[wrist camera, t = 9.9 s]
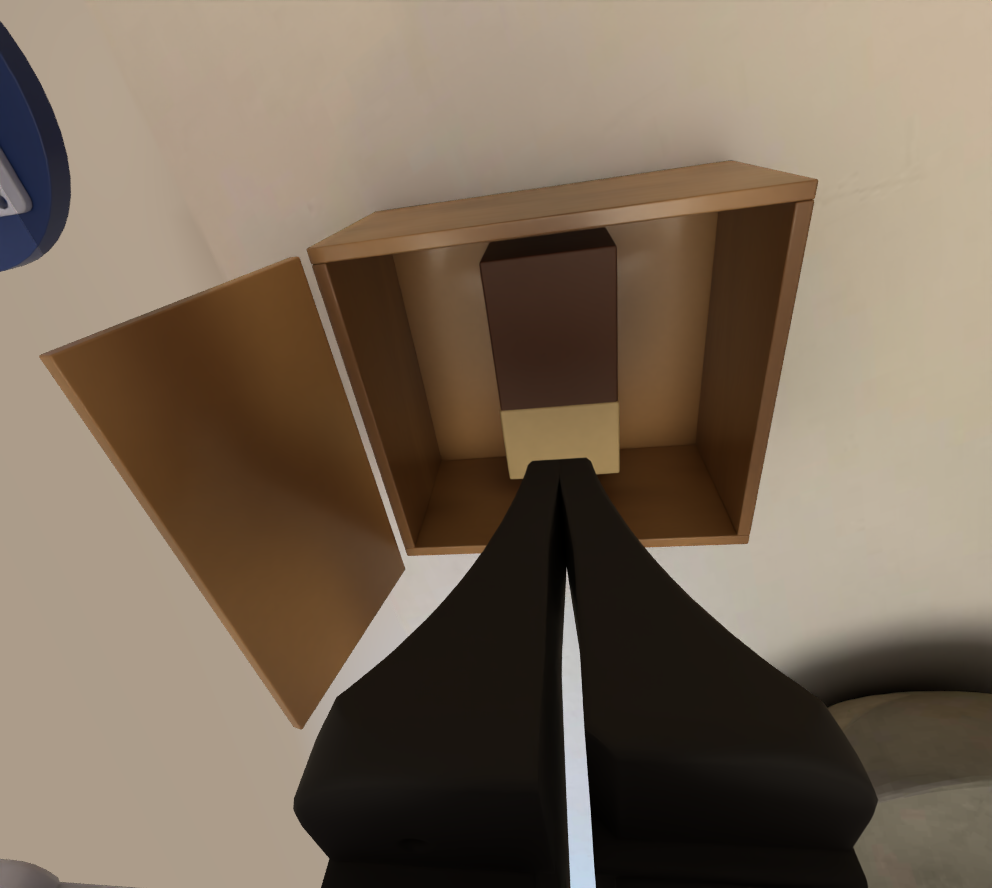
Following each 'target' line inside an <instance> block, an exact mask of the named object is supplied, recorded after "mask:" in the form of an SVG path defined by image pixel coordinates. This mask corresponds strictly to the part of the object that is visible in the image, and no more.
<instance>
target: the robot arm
mask: <svg viewBox="0 0 992 888" xmlns="http://www.w3.org/2000/svg"><path fill="white" fill-rule="evenodd" d="M3 197H4V199H5V200H6V201H7V203H8V205H7V204H6V203H5V202H4V199H3ZM31 209H32V201H31V199H30V197H29V195H28V193H27V192H26V190H25V188H24V187H23V185H22V183H21V181H20V180H19V178H18V176H17V175H16V173H15V171H14V170H13V168H12V166H11V164H10V163H9V161H8V159H7V158H6V156H5V154H4V153H3V151H2V149H1V147H0V217H2V216H8V215H14V214H20V213H26V212H29V211H31ZM566 568H567V572H568V578H569V585H570V591H571V598H572V604H573V611H574V617H575V624H576V630H577V636H578V643H579V649H580V660H581V677H582V694H583V711H584V728H585V741H586V755H587V768H588V781H589V794H590V807H591V822H592V838H593V853H594V869H595V880H596V888H868V883H867V879H866V876H865V874H864V872H863V869H862V867H861V865H860V862H859V860H858V857H857V855H856V853H855V850H854V848H853V847H854V845H855V844H856V842H857V841H858V839H859V837H860V836H861V834H862V833H863V831H864V830H865V828H866V827H867V825H868V824H869V822H870V821H871V819H872V817H873V815H874V812H875V809H876V806H877V803H878V798H877V795H876V793H875V790H874V788H873V785H872V783H871V781H870V779H869V776H868V774H867V772H866V770H865V768H864V766H863V764H862V762H861V761H860V759H859V757H858V755H857V753H856V752H855V750H854V748H853V747H852V745H851V744H850V742H849V740H848V739H847V737H846V736H845V734H844V732H843V731H842V729H841V728H840V726H839V725H838V723H837V722H836V720H835V719H834V717H833V716H832V714H831V713H830V711H829V710H828V708H827V707H826V705H825V704H824V702H823V701H822V700H820V699H819V698H817V697H816V696H814V695H813V694H812V693H810V692H809V691H807V690H806V689H805V688H803V687H802V686H800V685H799V684H797V683H796V682H795V681H793V680H792V679H790V678H789V677H787V676H786V675H785V674H783V673H782V672H780V671H779V670H778V669H776V668H775V667H773V666H772V665H771V664H769V663H768V662H767V661H765V660H764V659H763V658H761V657H760V656H759V655H758V654H756V653H755V652H754V651H753V650H751V649H750V648H749V647H748V646H746V645H745V644H744V643H743V642H741V641H740V640H739V639H738V638H736V637H735V636H734V635H733V634H731V633H730V632H729V631H728V630H727V629H726V628H725V627H723V626H722V625H721V624H720V623H719V622H718V621H717V620H716V619H714V618H713V617H712V616H711V615H710V614H709V613H708V612H707V611H705V610H704V609H703V608H702V607H701V606H700V605H699V604H698V603H696V602H695V601H694V600H693V599H692V598H691V597H690V596H689V595H688V594H687V593H686V592H685V591H684V590H683V589H682V588H681V587H680V586H679V585H678V584H677V583H676V582H675V581H674V580H673V579H672V578H671V577H670V576H669V575H668V574H667V572H666V571H665V570H664V569H663V568H662V567H661V566H660V565H659V564H658V563H657V562H656V560H655V559H654V558H653V557H652V556H651V555H650V553H649V552H648V551H647V550H646V549H645V547H644V546H643V545H642V544H641V542H640V541H639V540H638V538H637V537H636V536H635V535H634V533H633V532H632V531H631V529H630V528H629V527H628V525H627V524H626V522H625V521H624V520H623V518H622V517H621V515H620V514H619V512H618V511H617V509H616V508H615V506H614V505H613V503H612V502H611V500H610V498H609V497H608V495H607V493H606V492H605V490H604V488H603V486H602V484H601V483H600V481H599V479H598V477H597V475H596V473H595V470H594V468H593V465H592V462H591V461H590V460H589V459H588V458H586V457H585V458H569V459H553V460H537V461H532V462H530V463H529V464H528V466H527V469H526V472H525V475H524V478H523V480H522V482H521V485H520V487H519V489H518V491H517V493H516V495H515V498H514V500H513V501H512V503H511V505H510V507H509V509H508V511H507V513H506V514H505V516H504V518H503V520H502V522H501V523H500V525H499V527H498V528H497V530H496V531H495V533H494V535H493V536H492V538H491V539H490V541H489V542H488V544H487V546H486V547H485V549H484V550H483V552H482V553H481V555H480V556H479V557H478V559H477V560H476V562H475V563H474V564H473V566H472V567H471V568H470V570H469V571H468V572H467V573H466V575H465V576H464V577H463V579H462V580H461V581H460V582H459V584H458V585H457V586H456V587H455V588H454V589H453V590H452V592H451V593H450V594H449V595H448V596H447V597H446V599H445V600H444V601H443V602H442V603H441V604H440V605H439V606H438V608H437V609H436V610H435V611H434V612H433V613H432V614H431V615H430V616H429V617H428V618H427V619H426V620H425V621H424V622H423V623H422V624H421V625H420V626H419V627H418V628H417V629H416V630H415V631H414V632H413V633H412V634H411V635H410V636H408V637H407V638H406V639H405V640H404V641H403V642H402V643H401V644H400V645H399V646H398V647H397V648H396V649H395V650H394V651H393V652H392V653H391V654H389V655H388V656H387V657H386V658H385V659H384V660H382V661H381V662H380V663H379V664H378V665H376V666H375V667H374V668H373V669H372V670H370V671H369V672H368V673H367V674H365V675H364V676H363V677H362V678H360V679H359V680H358V681H357V682H356V683H354V684H353V685H352V686H351V687H350V688H348V689H347V690H346V691H344V692H343V693H342V694H340V695H339V696H338V697H337V698H336V699H335V702H334V704H333V706H332V708H331V710H330V712H329V714H328V716H327V718H326V720H325V722H324V724H323V726H322V728H321V730H320V732H319V734H318V736H317V739H316V741H315V744H314V747H313V749H312V752H311V754H310V757H309V760H308V762H307V765H306V768H305V770H304V773H303V776H302V778H301V781H300V784H299V787H298V790H297V792H296V795H295V797H294V808H293V809H294V812H295V814H296V816H297V818H298V820H299V822H300V823H301V825H302V827H303V828H304V829H305V830H306V831H307V833H308V834H309V835H310V836H311V837H312V839H313V840H314V841H315V842H316V843H317V844H318V846H319V847H320V848H321V849H322V850H323V852H324V853H325V854H326V855H327V856H328V857H329V862H328V866H327V869H326V873H325V876H324V879H323V883H322V886H321V888H570V868H569V846H568V824H567V800H566V777H565V752H564V727H563V700H562V644H563V625H564V607H565V588H566ZM0 888H133V887H120V886H107V885H93V884H80V883H66V882H59V879H58V877H56V876H55V875H54V874H52V873H51V872H49V871H47V870H46V869H43V868H41V867H39V866H37V865H34V864H31V863H27V862H23V861H17V860H7V859H0Z"/></svg>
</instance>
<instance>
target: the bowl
mask: <svg viewBox="0 0 992 888" xmlns="http://www.w3.org/2000/svg"><path fill="white" fill-rule="evenodd" d="M828 710H829V711H830V713H831V714H832V716H833V717H834V719H835V720H836V722H837V723H838V725H839V726H840V728H841V729H842V731H843V732H844V734H845V736H846V737H847V739H848V740H849V742H850V744H851V745H852V747H853V748H854V750H855V752H856V753H857V755H858V757H859V759H860V761H861V762H862V764H863V766H864V768H865V770H866V772H867V774H868V776H869V779H870V781H871V783H872V785H873V788H874V790H875V793H876V795H877V798H878V803H877V806H876V809H875V812H874V815H873V817H872V819H871V821H870V822H869V824H868V825H867V827H866V828H865V830H864V831H863V833H862V834H861V836H860V837H859V839H858V841H857V842H856V844H855V845H854V847H853V848H854V850H855V853H856V855H857V857H858V860H859V862H860V865H861V867H862V869H863V872H864V874H865V876H866V879H867V883H868V888H992V694H990V693H979V692H963V691H916V692H897V693H889V694H882V695H873V696H866V697H862V698H857V699H852V700H847V701H843V702H840V703H837V704H835V705H832V706H830V707H828Z"/></svg>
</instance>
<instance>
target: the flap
mask: <svg viewBox="0 0 992 888" xmlns="http://www.w3.org/2000/svg"><path fill="white" fill-rule="evenodd" d="M39 357H40V359H41V360H42V362H43V363H44V365H45V366H46V367H47V369H48V370H49V372H50V373H51V375H52V376H53V378H54V379H55V380H56V382H57V383H58V385H59V386H60V388H61V389H62V391H63V392H64V393H65V395H66V397H67V398H68V399H69V401H70V402H71V404H72V405H73V407H74V408H75V410H76V411H77V413H78V414H79V415H80V417H81V418H82V420H83V421H84V423H85V424H86V426H87V427H88V429H89V430H90V431H91V433H92V434H93V436H94V437H95V439H96V440H97V442H98V443H99V444H100V446H101V447H102V449H103V450H104V452H105V453H106V455H107V456H108V458H109V459H110V461H111V462H112V463H113V465H114V466H115V468H116V469H117V471H118V472H119V474H120V475H121V477H122V478H123V479H124V481H125V482H126V484H127V485H128V487H129V488H130V489H131V491H132V492H133V494H134V495H135V497H136V498H137V500H138V501H139V503H140V504H141V506H142V507H143V508H144V510H145V511H146V513H147V514H148V516H149V517H150V519H151V520H152V522H153V523H154V525H155V526H156V527H157V529H158V530H159V532H160V533H161V535H162V536H163V537H164V539H165V540H166V542H167V543H168V545H169V546H170V548H171V549H172V551H173V552H174V553H175V555H176V556H177V558H178V559H179V561H180V562H181V564H182V565H183V567H184V568H185V570H186V571H187V572H188V574H189V575H190V577H191V578H192V580H193V581H194V583H195V584H196V585H197V587H198V588H199V590H200V591H201V593H202V594H203V596H204V597H205V599H206V600H207V601H208V603H209V604H210V606H211V607H212V609H213V610H214V612H215V613H216V614H217V616H218V618H219V619H220V620H221V622H222V623H223V625H224V626H225V628H226V629H227V631H228V632H229V633H230V635H231V636H232V638H233V639H234V641H235V642H236V644H237V645H238V647H239V648H240V650H241V651H242V652H243V654H244V655H245V657H246V658H247V660H248V661H249V663H250V664H251V666H252V667H253V668H254V670H255V671H256V673H257V674H258V676H259V677H260V679H261V680H262V682H263V683H264V684H265V686H266V687H267V689H268V690H269V691H270V693H271V695H272V696H273V698H274V699H275V700H276V702H277V703H278V705H279V706H280V707H281V709H282V711H283V712H284V713H285V715H286V716H287V718H288V719H289V721H290V722H291V724H292V725H293V727H296V728H298V729H303V727H304V726H305V724H306V722H307V721H308V719H309V718H310V716H311V714H312V713H313V711H314V710H315V709H316V707H317V705H318V704H319V702H320V701H321V699H322V698H323V696H324V695H325V693H326V691H327V690H328V688H329V687H330V685H331V684H332V682H333V680H334V679H335V677H336V676H337V674H338V673H339V671H340V670H341V668H342V666H343V665H344V663H345V662H346V660H347V659H348V657H349V656H350V654H351V653H352V651H353V649H354V648H355V646H356V645H357V643H358V642H359V640H360V639H361V637H362V635H363V634H364V632H365V631H366V629H367V627H368V626H369V624H370V623H371V621H372V620H373V618H374V617H375V615H376V614H377V612H378V611H379V609H380V608H381V606H382V604H383V603H384V601H385V600H386V598H387V597H388V595H389V594H390V592H391V591H392V589H393V587H394V586H395V584H396V583H397V581H398V580H399V578H400V577H401V575H402V573H403V572H404V570H405V567H404V564H403V561H402V558H401V555H400V552H399V549H398V546H397V543H396V540H395V537H394V534H393V531H392V528H391V525H390V523H389V520H388V517H387V514H386V511H385V508H384V505H383V502H382V499H381V496H380V493H379V490H378V487H377V484H376V481H375V478H374V475H373V473H372V470H371V467H370V464H369V461H368V458H367V455H366V452H365V449H364V446H363V443H362V440H361V437H360V434H359V431H358V428H357V426H356V423H355V420H354V417H353V414H352V411H351V408H350V405H349V402H348V399H347V396H346V393H345V390H344V387H343V384H342V381H341V378H340V376H339V373H338V370H337V367H336V364H335V361H334V358H333V355H332V352H331V349H330V346H329V343H328V340H327V337H326V334H325V331H324V328H323V326H322V323H321V320H320V317H319V314H318V311H317V308H316V305H315V302H314V299H313V296H312V293H311V290H310V287H309V284H308V281H307V278H306V276H305V273H304V270H303V267H302V264H301V261H300V258H299V257H290V258H287V259H284V260H282V261H279V262H277V263H274V264H272V265H269V266H266V267H264V268H261V269H259V270H256V271H254V272H251V273H249V274H246V275H243V276H241V277H238V278H236V279H233V280H231V281H228V282H225V283H223V284H221V285H218V286H215V287H213V288H210V289H208V290H205V291H203V292H200V293H197V294H195V295H192V296H190V297H187V298H184V299H182V300H179V301H177V302H174V303H172V304H169V305H167V306H164V307H162V308H159V309H156V310H154V311H151V312H149V313H146V314H144V315H141V316H139V317H136V318H133V319H131V320H128V321H126V322H123V323H121V324H118V325H115V326H113V327H110V328H108V329H105V330H103V331H100V332H97V333H95V334H92V335H90V336H87V337H85V338H82V339H80V340H77V341H74V342H72V343H69V344H67V345H64V346H62V347H59V348H56V349H54V350H51V351H49V352H46V353H44V354H41V355H40V356H39Z"/></svg>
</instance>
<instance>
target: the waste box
mask: <svg viewBox="0 0 992 888" xmlns="http://www.w3.org/2000/svg"><path fill="white" fill-rule="evenodd" d="M817 184H818V180H817V179H814V178H809V177H805V176H800V175H795V174H791V173H786V172H782V171H777V170H773V169H768V168H764V167H759V166H755V165H750V164H745V163H741V162H736V161H732V160H730V161H723V162H716V163H709V164H702V165H695V166H689V167H682V168H675V169H668V170H661V171H654V172H647V173H640V174H633V175H626V176H619V177H612V178H605V179H598V180H591V181H585V182H578V183H571V184H564V185H557V186H550V187H543V188H536V189H529V190H522V191H515V192H508V193H501V194H494V195H487V196H481V197H474V198H467V199H460V200H453V201H446V202H439V203H432V204H425V205H418V206H411V207H404V208H397V209H390V210H383V211H377V212H374V213H372V214H370V215H368V216H366V217H365V218H363V219H361V220H359V221H357V222H355V223H353V224H352V225H350V226H348V227H346V228H344V229H342V230H340V231H339V232H337V233H335V234H333V235H331V236H329V237H327V238H326V239H324V240H322V241H320V242H318V243H316V244H314V245H313V246H311V247H309V248H307V252H308V255H309V258H310V262H311V264H313V265H312V268H313V271H314V274H315V277H316V280H317V283H318V286H319V289H320V292H321V295H322V298H323V301H324V304H325V307H326V310H327V313H328V316H329V319H330V322H331V325H332V328H333V331H334V334H335V337H336V340H337V343H338V346H339V349H340V353H341V356H342V359H343V362H344V365H345V368H346V371H347V374H348V377H349V380H350V383H351V386H352V389H353V392H354V395H355V398H356V401H357V404H358V407H359V410H360V413H361V416H362V419H363V422H364V425H365V428H366V431H367V434H368V437H369V440H370V444H371V447H372V450H373V453H374V456H375V459H376V462H377V465H378V468H379V471H380V474H381V477H382V480H383V483H384V486H385V489H386V492H387V495H388V498H389V501H390V504H391V507H392V510H393V513H394V516H395V519H396V522H397V525H398V528H399V531H400V535H401V538H402V541H403V544H404V547H405V550H406V553H407V555H408V556H417V555H445V554H473V553H482V552H483V550H484V549H485V547H486V546H487V544H488V542H489V541H490V539H491V538H492V536H493V535H494V533H495V531H496V530H497V528H498V527H499V525H500V523H501V522H502V520H503V518H504V516H505V514H506V513H507V511H508V509H509V507H510V505H511V503H512V501H513V500H514V498H515V495H516V493H517V491H518V489H519V487H520V485H521V482H522V480H523V479H510V477H509V471H508V464H507V457H506V451H505V444H504V438H503V431H502V424H501V418H500V400H499V394H498V387H497V380H496V374H495V367H494V360H493V354H492V347H491V340H490V333H489V327H488V320H487V313H486V307H485V300H484V293H483V287H482V280H481V273H480V267H479V263H480V261H481V259H482V257H483V254H484V252H485V250H486V248H487V246H488V244H489V243H490V242H497V241H504V240H512V239H520V238H527V237H535V236H543V235H550V234H558V233H566V232H574V231H581V230H589V229H597V228H604V227H605V228H606V229H607V230H608V232H609V234H610V235H611V237H612V239H613V241H614V242H615V244H616V246H617V332H618V399H619V405H620V471H619V473H609V474H596V475H597V477H598V479H599V481H600V483H601V484H602V486H603V488H604V490H605V492H606V493H607V495H608V497H609V498H610V500H611V502H612V503H613V505H614V506H615V508H616V509H617V511H618V512H619V514H620V515H621V517H622V518H623V520H624V521H625V522H626V524H627V525H628V527H629V528H630V529H631V531H632V532H633V533H634V535H635V536H636V537H637V538H638V540H639V541H640V542H641V544H642V545H643V546H644V547H670V546H698V545H726V544H748V541H749V534H750V531H751V525H752V520H753V515H754V510H755V505H756V500H757V494H758V489H759V484H760V479H761V474H762V469H763V463H764V458H765V453H766V448H767V443H768V438H769V432H770V427H771V422H772V417H773V412H774V407H775V401H776V396H777V391H778V386H779V381H780V375H781V370H782V365H783V360H784V355H785V350H786V344H787V339H788V334H789V329H790V324H791V319H792V313H793V308H794V303H795V298H796V293H797V288H798V282H799V277H800V272H801V267H802V262H803V257H804V251H805V246H806V241H807V236H808V231H809V226H810V220H811V215H812V210H813V205H814V200H812V199H814V198H815V195H816V189H817Z"/></svg>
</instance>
